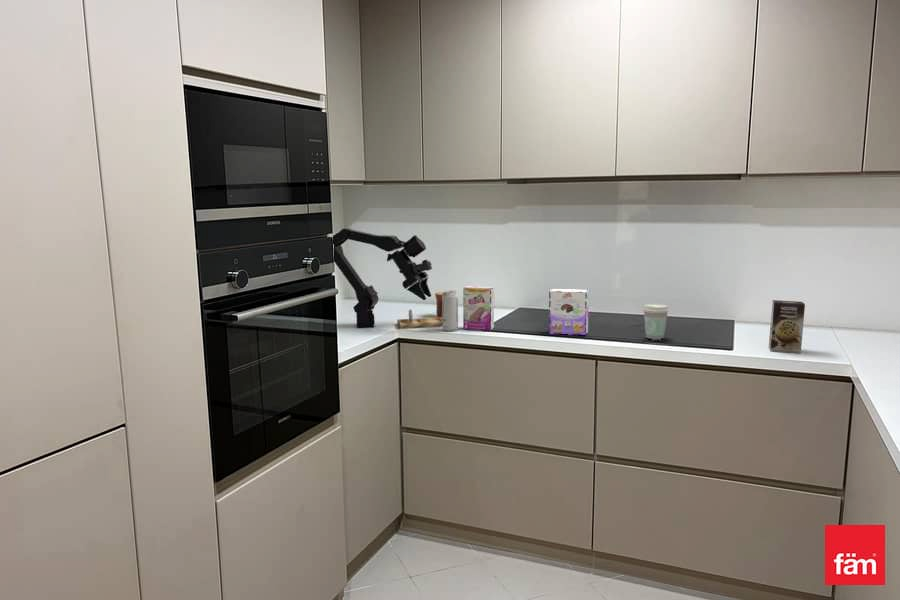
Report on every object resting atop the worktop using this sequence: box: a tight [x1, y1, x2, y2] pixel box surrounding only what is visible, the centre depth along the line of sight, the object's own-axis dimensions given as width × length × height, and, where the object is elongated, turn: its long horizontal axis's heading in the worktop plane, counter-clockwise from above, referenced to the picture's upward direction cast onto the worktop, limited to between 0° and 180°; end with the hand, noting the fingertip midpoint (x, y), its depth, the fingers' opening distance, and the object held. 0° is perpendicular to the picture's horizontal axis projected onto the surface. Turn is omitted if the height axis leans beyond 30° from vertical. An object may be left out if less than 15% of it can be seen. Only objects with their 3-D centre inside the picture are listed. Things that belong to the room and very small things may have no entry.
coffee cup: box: [642, 303, 669, 339], centre depth 233 cm, size 8×8×12 cm
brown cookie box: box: [768, 299, 806, 354], centre depth 215 cm, size 9×6×16 cm
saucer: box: [408, 308, 414, 323], centre depth 260 cm, size 1×6×6 cm, turn 12°
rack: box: [396, 317, 442, 330], centre depth 262 cm, size 18×9×2 cm, turn 102°
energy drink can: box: [441, 290, 459, 333], centre depth 251 cm, size 6×6×15 cm
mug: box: [434, 291, 444, 318], centre depth 276 cm, size 12×9×10 cm
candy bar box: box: [462, 285, 495, 332], centre depth 252 cm, size 11×5×16 cm, turn 72°
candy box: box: [548, 288, 590, 336], centre depth 243 cm, size 14×6×16 cm, turn 70°
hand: (427, 298), depth 253 cm, fingers open, 9 cm apart
